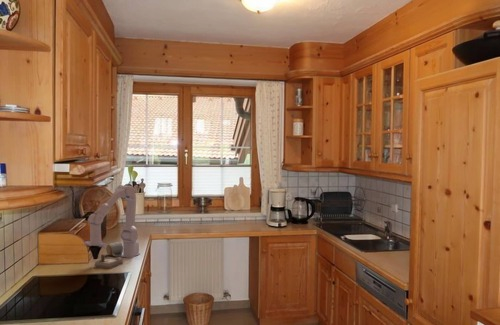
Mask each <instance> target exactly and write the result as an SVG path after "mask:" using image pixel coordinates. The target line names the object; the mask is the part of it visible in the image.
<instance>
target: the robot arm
mask: <svg viewBox="0 0 500 325" xmlns="http://www.w3.org/2000/svg"><path fill="white" fill-rule="evenodd" d="M120 198H124V199H125V201H126V208H125V209H126V210H125V221H124V222H125V223H124V224H125V226H123V227H122V230H121V233H120V238H121V240H122V246H123V252H122V255H121V256H120V257H119V258H128V259H131V258H132V259H133V258H134V257H136V256H139V255H141V253H140V244H139V241H138V239H139V234H138V229H137V227H136V226H135V225H136V210H137V209H136V207H137V195H136V189H135V187H133V185H124V184H121V185H120V184H119V185H118V186H117V187H116V188H115V190H114V192H113V193H112V195H111V196H110V197H109V198H108V200H107V201H106V202H105V203H101V204H100V205H99V207H98V208H97V209H96V210H94V212H93V213H91V214H90V215H89V216H88V218H87V222H88V224H89V240H88V241H84V242H83V246H89V247H88V250H89V251H90V253H91V256H92V258H93V260H97V259H98V258H99V256H100V252H101V250H102V248H104V249H106V247H107V245H108V243H107V242H103V241H102V223H103V222H104V218H105V217H106V216H107V214H109V212H110V211H111V207H112V206H114V204H115V203H116V202H117V201H118V200H119V199H120ZM98 260H99V259H98Z"/></svg>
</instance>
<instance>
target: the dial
mask: <svg viewBox="0 0 500 325" xmlns="http://www.w3.org/2000/svg"><path fill="white" fill-rule="evenodd" d="M104 258H105V254H101V259H100V260H101V262H103V263H112V262H114V261H116V260H115V259H105V260H104Z"/></svg>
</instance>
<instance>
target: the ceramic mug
mask: <svg viewBox="0 0 500 325" xmlns="http://www.w3.org/2000/svg"><path fill="white" fill-rule="evenodd" d="M105 249H106V254H107V255H108V256H114V258H121V257H120V256H121V255H123V242H121V241H116V242H112V243H109V244H108V243H107V247H105Z"/></svg>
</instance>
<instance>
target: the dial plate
mask: <svg viewBox="0 0 500 325" xmlns="http://www.w3.org/2000/svg"><path fill="white" fill-rule="evenodd" d="M105 259H115V260H116V261H114V262H112V263H103V262H101V259H98V260H96V261H94V267H95V268H103V269H108V270H111V269H113V268H116V267H118V266H121V265H123V261H122V258H120V257H110V256H107V257H104V260H105Z"/></svg>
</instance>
